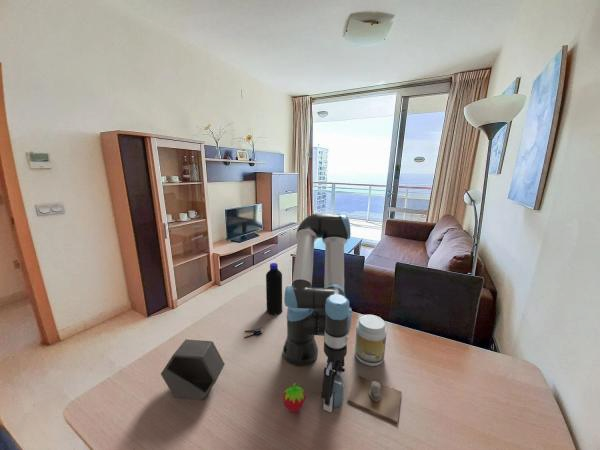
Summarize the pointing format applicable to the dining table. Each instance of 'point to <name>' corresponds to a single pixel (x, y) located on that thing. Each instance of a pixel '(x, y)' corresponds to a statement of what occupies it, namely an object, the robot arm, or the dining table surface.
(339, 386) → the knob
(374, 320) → the supplement tub
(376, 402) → the stud board
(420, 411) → the dining table surface
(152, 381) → the dining table surface
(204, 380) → the planter
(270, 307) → the bottle
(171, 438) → the dining table surface
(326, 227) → the robot arm
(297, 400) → the strawberry
